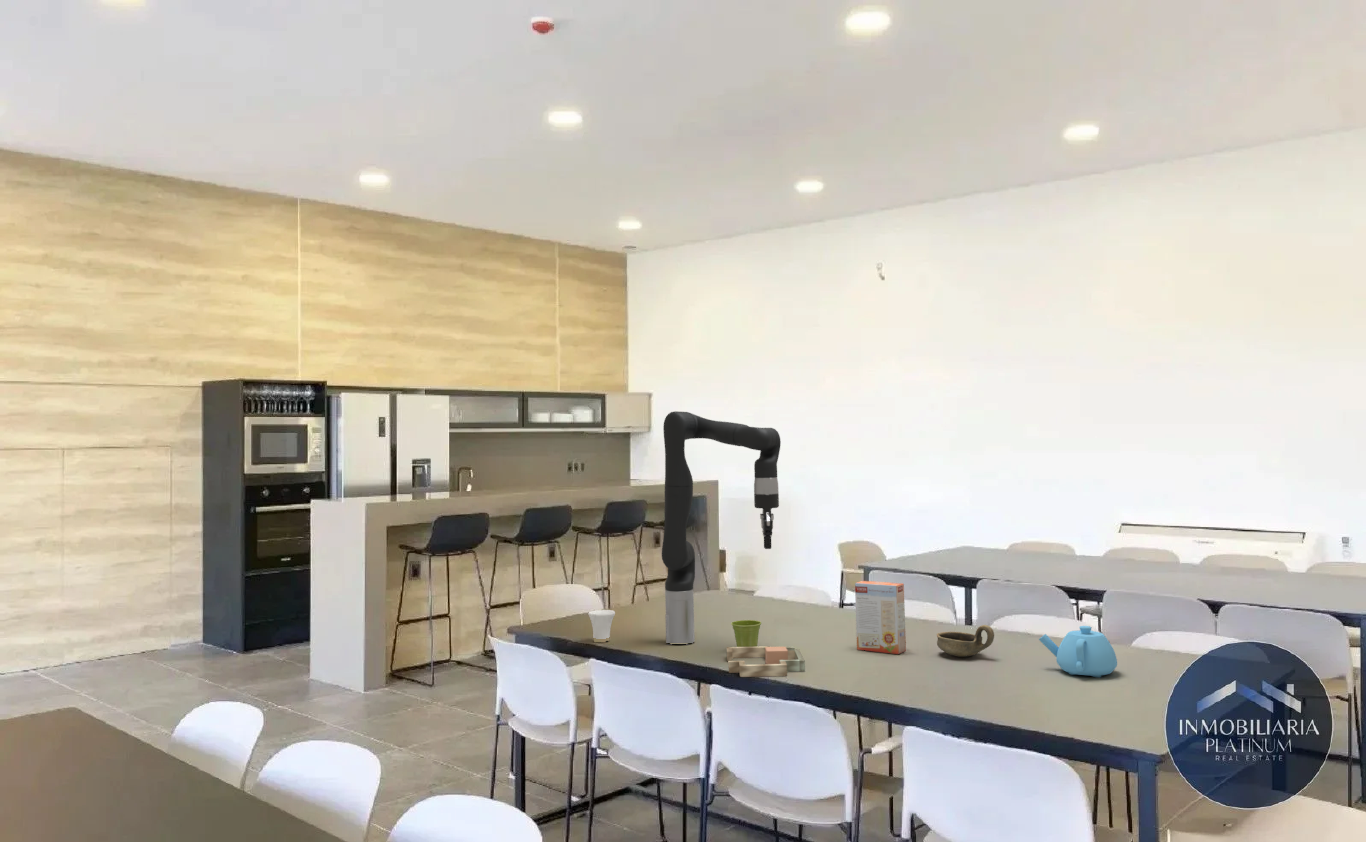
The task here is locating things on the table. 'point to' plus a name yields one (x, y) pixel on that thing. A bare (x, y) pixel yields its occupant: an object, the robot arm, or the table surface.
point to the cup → (601, 623)
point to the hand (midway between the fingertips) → (767, 548)
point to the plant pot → (746, 632)
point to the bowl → (964, 642)
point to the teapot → (1083, 652)
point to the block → (775, 655)
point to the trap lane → (758, 670)
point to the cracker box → (880, 617)
